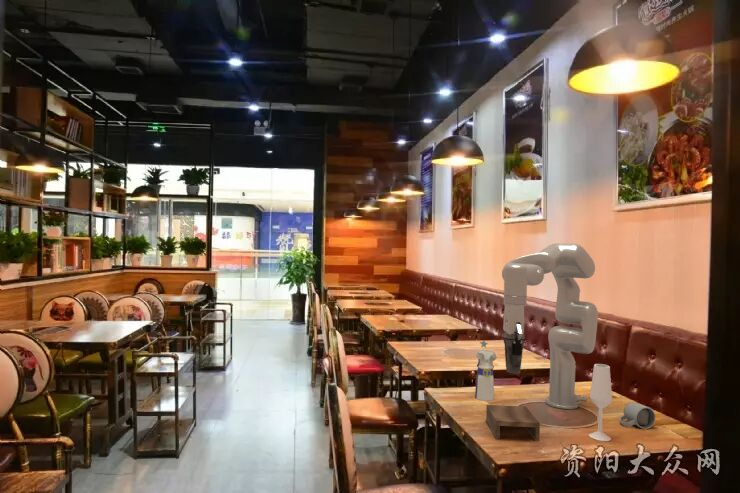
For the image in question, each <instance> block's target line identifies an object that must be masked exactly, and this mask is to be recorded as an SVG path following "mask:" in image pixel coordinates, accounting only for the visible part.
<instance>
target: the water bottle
mask: <svg viewBox="0 0 740 493" xmlns="http://www.w3.org/2000/svg"><path fill="white" fill-rule="evenodd" d="M479 344H480V345H481V348H484V349H479V350H477V351H476V353H475V358H477V360H478V362H477V364H476V367H477V374H476V375H475V376H476V378H475V392H474V398H475V399H476V400H478V401H483V402H491V401H493V400H494V399H495V395H494V393H495V392H494V390H495V389H494V388H495V387H494V386H495V385H494V384H495V383H494V380H495V379H494V378H495V377H494V368H495V366H494V363H493V362H494V361H495V360H496V359H497V354H496V352H495V351H493V350H489V349H486V348H487V345H488V344H489V343H488V342H486V341H485V339H483V340H482V341H480V342H479Z"/></svg>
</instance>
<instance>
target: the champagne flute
mask: <svg viewBox="0 0 740 493" xmlns="http://www.w3.org/2000/svg"><path fill="white" fill-rule="evenodd" d="M589 398H590V400H591V402H592V403H593V404H594V406H595V407H597V408H598V416H597V417H598V420H597V421H598V422H597V423H598V425H597V426H598V427H597V431H593V432H591V433H589V434H588V436H589V437H590V438H591V439H594V440H596V441H600V442H608V441H611V440H612V438H611V437H610V436H609V435H608V434H606V433H604V431H603V409H605V408H607V407H608V406H610V404H611V403H612V401H613V395H612V380H611V366H609V365H608V364H603V363H595V364H594V365H593V371H592V379H591V386H590V394H589Z"/></svg>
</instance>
